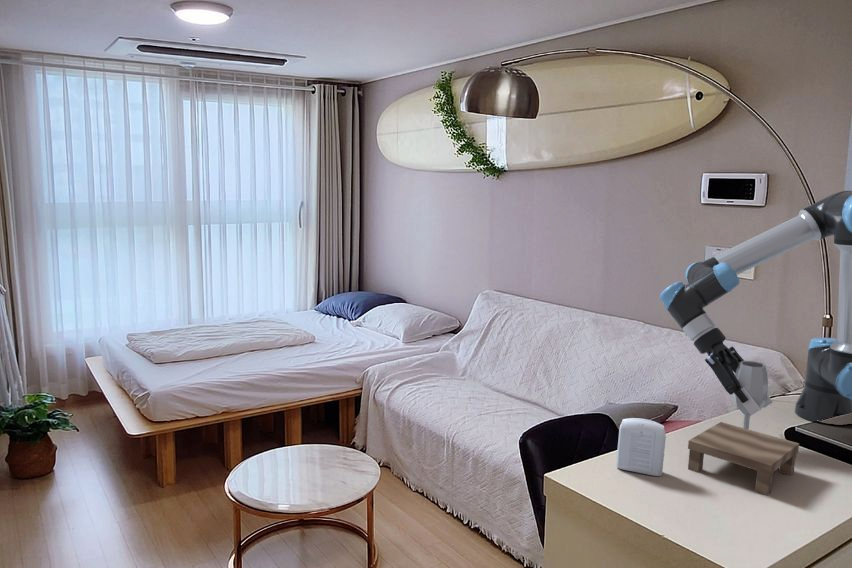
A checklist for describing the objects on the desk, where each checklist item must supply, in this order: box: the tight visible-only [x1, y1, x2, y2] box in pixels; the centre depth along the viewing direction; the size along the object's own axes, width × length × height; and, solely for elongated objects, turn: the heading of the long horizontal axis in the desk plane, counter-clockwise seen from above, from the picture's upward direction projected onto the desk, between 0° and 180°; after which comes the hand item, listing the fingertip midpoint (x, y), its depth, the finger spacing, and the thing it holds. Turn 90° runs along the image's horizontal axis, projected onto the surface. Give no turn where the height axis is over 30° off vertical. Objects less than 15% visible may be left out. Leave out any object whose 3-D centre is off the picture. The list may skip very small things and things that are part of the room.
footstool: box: [687, 421, 800, 496], centre depth 155 cm, size 18×18×7 cm
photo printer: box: [615, 417, 667, 477], centre depth 154 cm, size 10×4×12 cm, turn 67°
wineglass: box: [731, 360, 769, 430], centre depth 171 cm, size 9×9×21 cm
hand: (762, 408), depth 168 cm, fingers closed on wineglass, 8 cm apart
